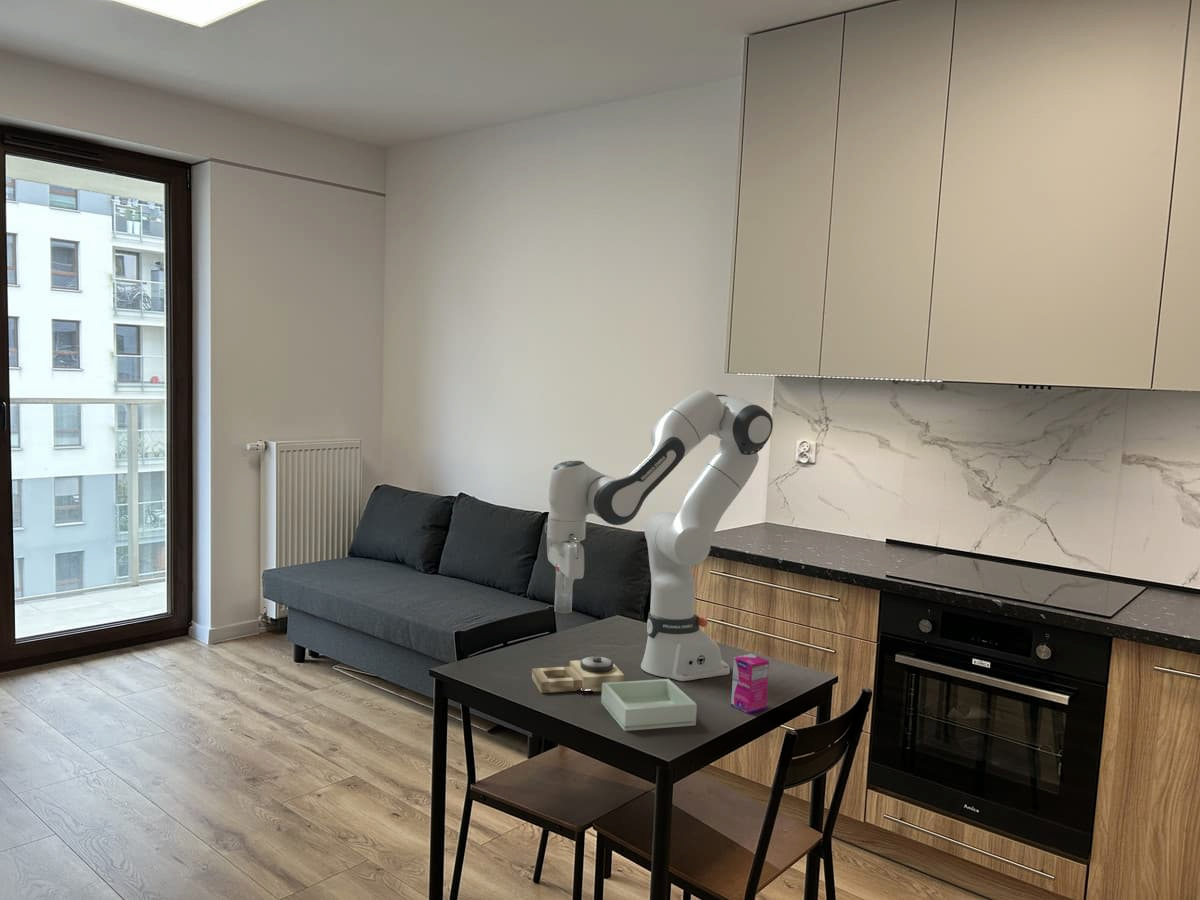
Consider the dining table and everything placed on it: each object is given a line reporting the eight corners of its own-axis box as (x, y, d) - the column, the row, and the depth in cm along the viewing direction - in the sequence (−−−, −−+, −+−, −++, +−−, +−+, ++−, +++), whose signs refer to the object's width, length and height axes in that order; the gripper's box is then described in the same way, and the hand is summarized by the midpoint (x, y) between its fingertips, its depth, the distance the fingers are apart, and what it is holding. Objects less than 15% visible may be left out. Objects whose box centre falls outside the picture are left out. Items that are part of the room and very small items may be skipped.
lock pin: (569, 608, 206) (571, 562, 205) (574, 613, 202) (576, 566, 201) (552, 609, 205) (553, 562, 204) (556, 613, 201) (558, 566, 200)
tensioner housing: (608, 672, 216) (609, 649, 215) (623, 689, 204) (625, 664, 204) (530, 677, 210) (531, 653, 209) (542, 694, 198) (543, 669, 198)
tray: (667, 698, 200) (668, 678, 200) (695, 725, 185) (696, 704, 185) (601, 702, 195) (602, 683, 195) (624, 730, 180) (625, 709, 180)
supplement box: (729, 706, 197) (732, 656, 196) (748, 701, 200) (751, 652, 200) (748, 714, 192) (751, 664, 191) (767, 709, 196) (770, 660, 195)
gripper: (592, 539, 193) (589, 600, 194) (568, 523, 213) (566, 579, 214) (564, 539, 191) (562, 601, 192) (543, 523, 211) (541, 579, 212)
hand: (564, 589), depth 203 cm, fingers closed on lock pin, 4 cm apart
